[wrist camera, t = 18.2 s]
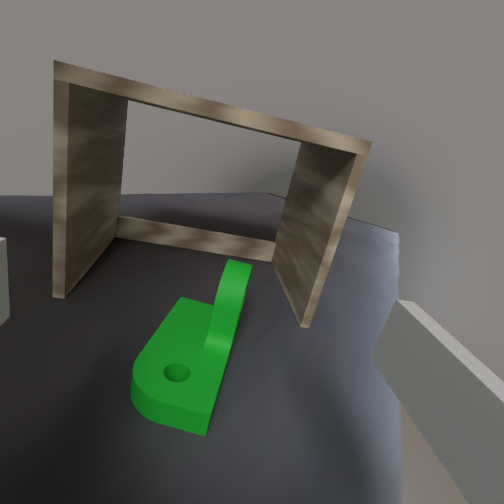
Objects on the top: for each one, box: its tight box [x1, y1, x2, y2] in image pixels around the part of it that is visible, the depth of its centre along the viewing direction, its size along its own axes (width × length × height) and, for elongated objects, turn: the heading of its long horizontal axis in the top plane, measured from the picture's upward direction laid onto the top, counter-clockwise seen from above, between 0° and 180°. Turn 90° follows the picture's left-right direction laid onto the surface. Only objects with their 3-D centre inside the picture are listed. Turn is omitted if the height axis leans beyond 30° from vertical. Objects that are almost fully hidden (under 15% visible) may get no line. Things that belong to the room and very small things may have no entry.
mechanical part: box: [130, 259, 253, 436], centre depth 24 cm, size 12×6×8 cm, turn 173°
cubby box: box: [53, 60, 372, 328], centre depth 36 cm, size 25×18×19 cm
